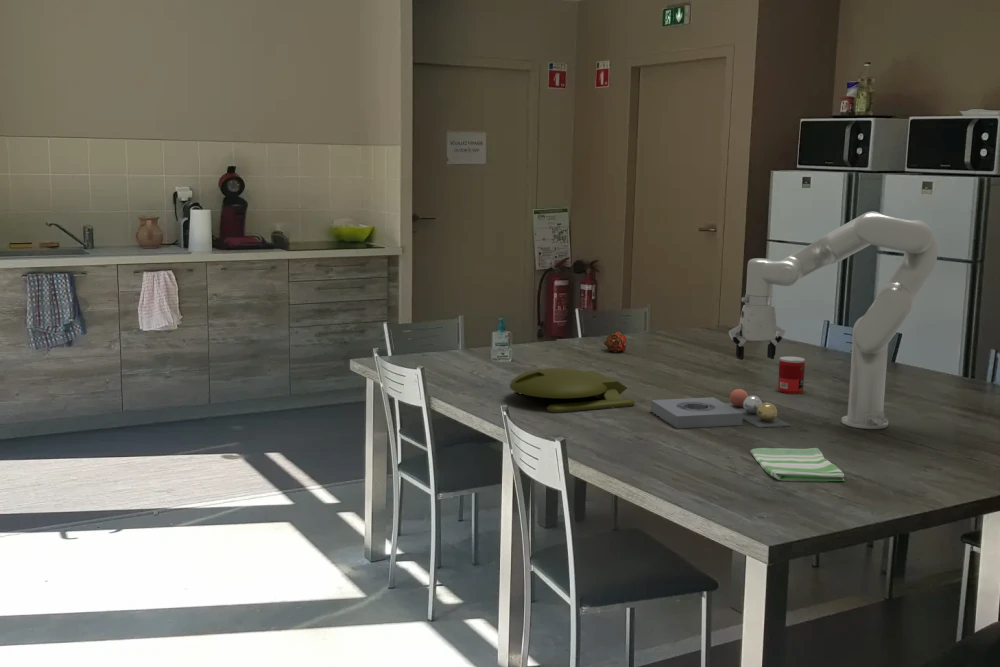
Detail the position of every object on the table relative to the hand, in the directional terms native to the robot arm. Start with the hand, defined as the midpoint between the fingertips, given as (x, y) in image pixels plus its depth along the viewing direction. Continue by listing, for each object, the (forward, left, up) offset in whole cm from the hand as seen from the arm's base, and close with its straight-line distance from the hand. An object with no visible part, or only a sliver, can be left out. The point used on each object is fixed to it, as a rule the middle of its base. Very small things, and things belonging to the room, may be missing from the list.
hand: (755, 358), depth 299 cm
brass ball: (-10, +1, -14) cm, 17 cm away
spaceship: (+29, +50, -18) cm, 60 cm away
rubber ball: (+8, +1, -14) cm, 16 cm away
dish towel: (-51, +14, -18) cm, 56 cm away
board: (-1, +19, -17) cm, 25 cm away
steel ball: (-1, +1, -14) cm, 14 cm away
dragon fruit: (+105, +7, -17) cm, 107 cm away
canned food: (+26, -26, -17) cm, 41 cm away
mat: (-1, +1, -17) cm, 17 cm away
